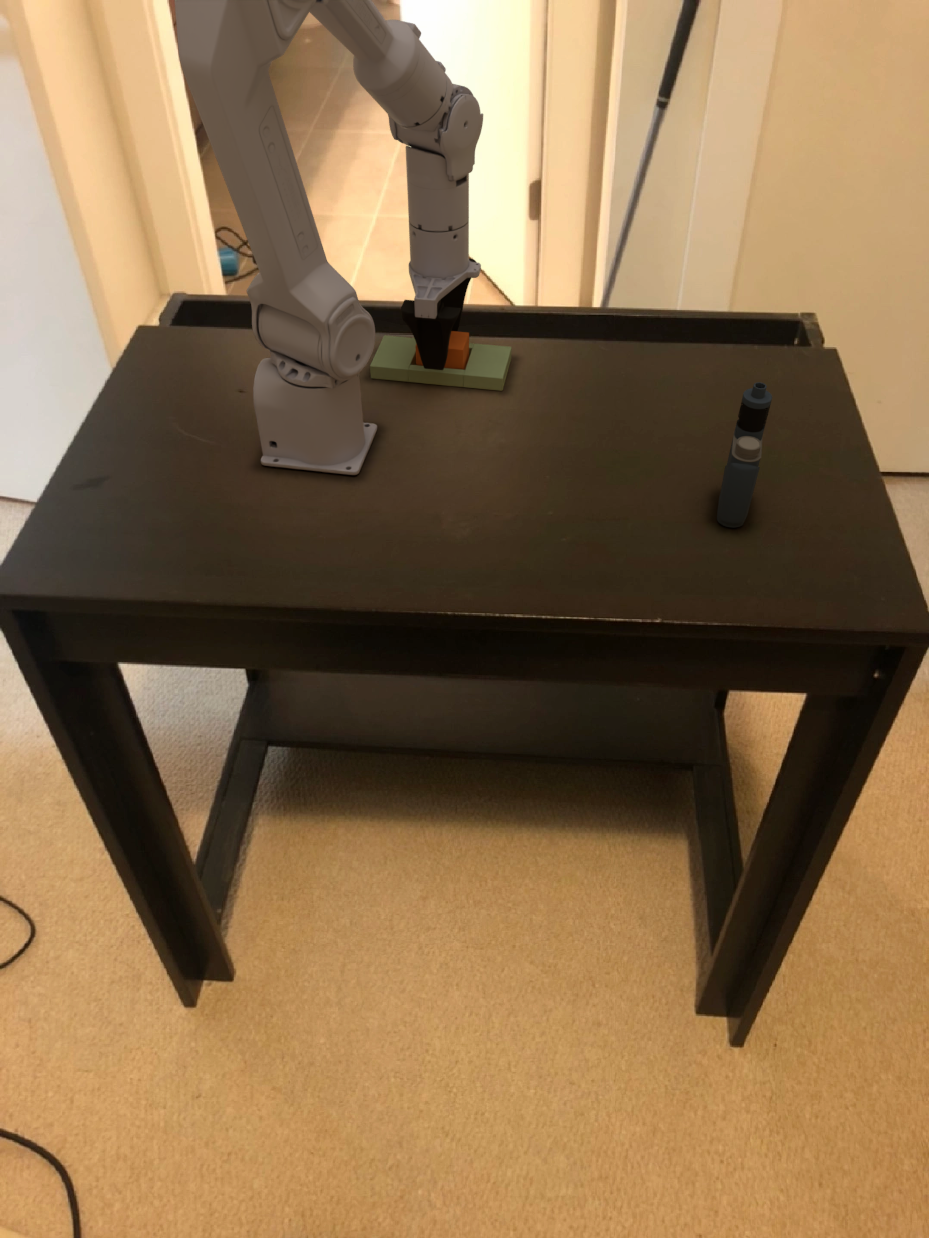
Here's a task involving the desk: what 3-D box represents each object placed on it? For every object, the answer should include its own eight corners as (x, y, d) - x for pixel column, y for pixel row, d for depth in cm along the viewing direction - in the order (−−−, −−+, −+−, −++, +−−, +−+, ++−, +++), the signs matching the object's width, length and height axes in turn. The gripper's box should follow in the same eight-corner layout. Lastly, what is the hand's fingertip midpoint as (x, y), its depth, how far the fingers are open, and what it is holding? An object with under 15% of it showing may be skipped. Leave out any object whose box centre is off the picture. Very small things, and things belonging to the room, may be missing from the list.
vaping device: (747, 495, 89) (776, 379, 81) (744, 532, 86) (774, 414, 77) (718, 491, 90) (744, 375, 81) (714, 527, 86) (741, 410, 77)
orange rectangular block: (416, 375, 104) (415, 345, 101) (423, 357, 106) (422, 328, 104) (463, 379, 103) (463, 349, 100) (469, 362, 105) (469, 332, 103)
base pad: (370, 378, 103) (369, 365, 102) (384, 347, 108) (383, 335, 106) (502, 391, 101) (502, 378, 100) (511, 359, 106) (511, 346, 105)
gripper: (466, 257, 88) (467, 389, 97) (492, 192, 98) (490, 317, 107) (389, 251, 88) (397, 382, 98) (422, 187, 98) (426, 312, 108)
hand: (441, 348), depth 103 cm, fingers open, 7 cm apart
